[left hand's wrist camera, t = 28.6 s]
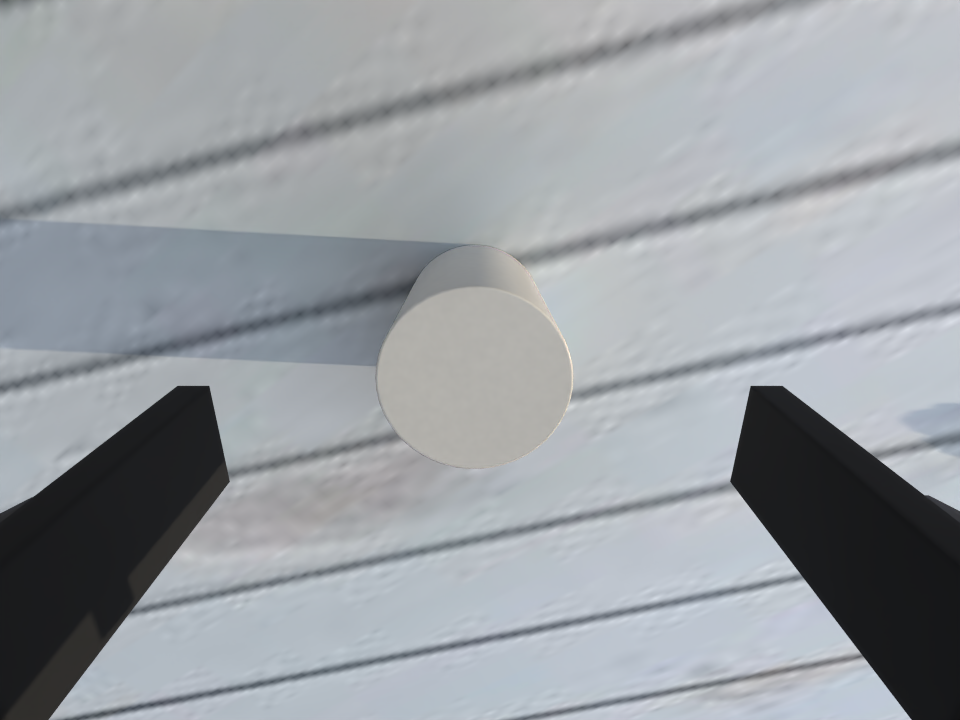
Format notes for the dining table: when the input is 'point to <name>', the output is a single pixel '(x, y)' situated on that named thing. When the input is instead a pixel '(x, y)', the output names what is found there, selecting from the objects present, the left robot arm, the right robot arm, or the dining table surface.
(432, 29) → the dining table surface
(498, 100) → the dining table surface
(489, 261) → the canister
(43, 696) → the left robot arm
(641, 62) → the dining table surface
